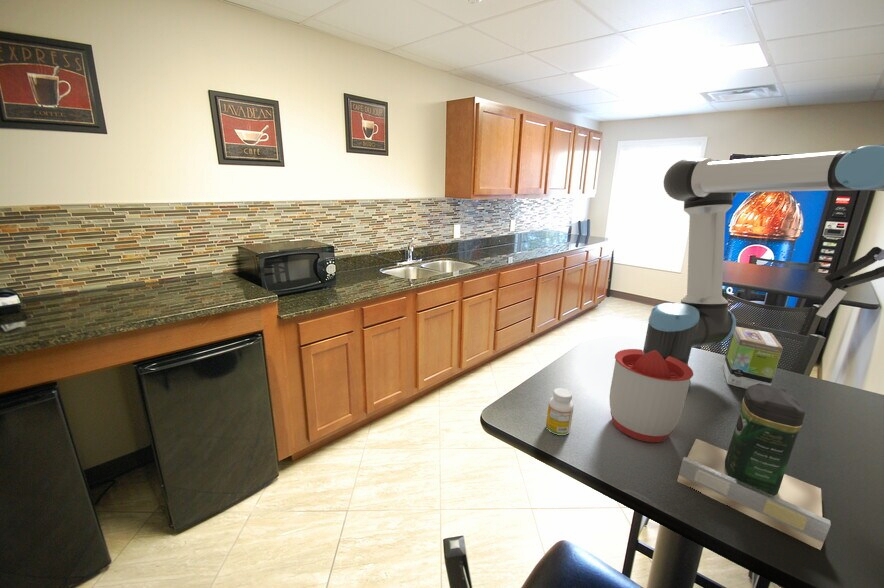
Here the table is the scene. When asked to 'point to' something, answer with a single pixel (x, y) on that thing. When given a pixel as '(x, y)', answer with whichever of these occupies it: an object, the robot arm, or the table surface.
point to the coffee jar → (764, 437)
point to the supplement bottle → (560, 412)
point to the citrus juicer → (648, 394)
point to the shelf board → (788, 491)
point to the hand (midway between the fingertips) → (858, 333)
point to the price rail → (756, 499)
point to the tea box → (751, 358)
